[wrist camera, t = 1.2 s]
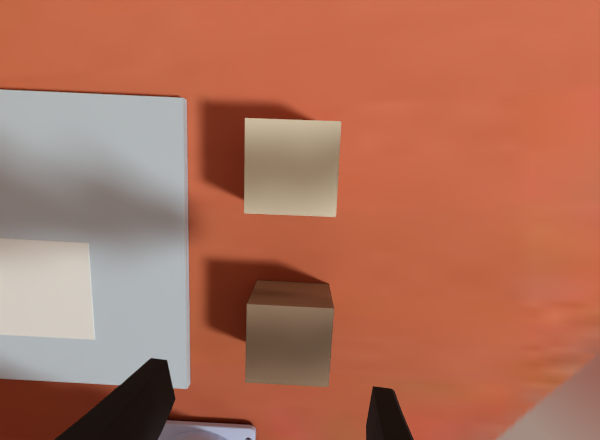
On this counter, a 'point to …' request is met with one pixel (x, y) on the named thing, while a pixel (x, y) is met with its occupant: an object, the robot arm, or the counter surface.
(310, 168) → the maple block
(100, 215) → the board
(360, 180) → the counter surface
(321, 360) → the walnut block
